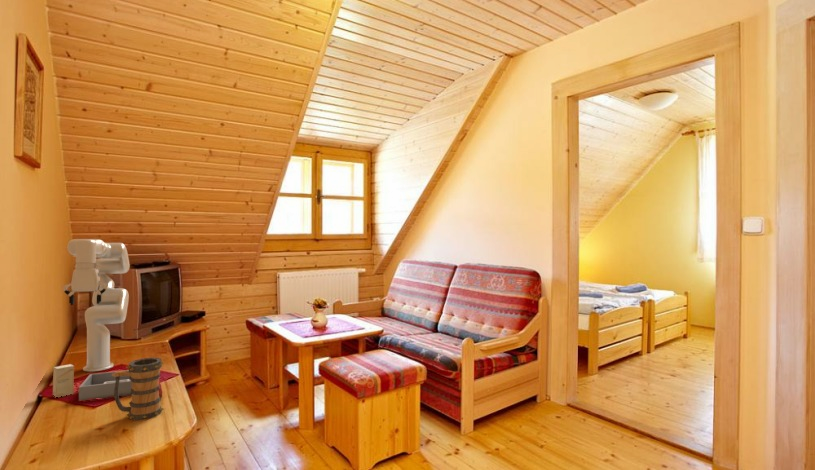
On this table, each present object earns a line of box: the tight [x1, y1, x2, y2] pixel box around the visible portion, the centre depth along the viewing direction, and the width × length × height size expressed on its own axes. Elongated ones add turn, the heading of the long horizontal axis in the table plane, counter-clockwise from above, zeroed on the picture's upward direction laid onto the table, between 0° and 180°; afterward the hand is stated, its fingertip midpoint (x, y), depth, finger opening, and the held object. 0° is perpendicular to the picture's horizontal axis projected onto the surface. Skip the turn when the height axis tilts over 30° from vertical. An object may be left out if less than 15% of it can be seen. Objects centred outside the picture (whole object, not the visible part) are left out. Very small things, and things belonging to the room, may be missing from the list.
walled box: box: [78, 369, 132, 402], centre depth 189 cm, size 18×22×6 cm
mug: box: [112, 357, 165, 421], centre depth 164 cm, size 13×17×20 cm
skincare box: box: [52, 363, 75, 398], centre depth 184 cm, size 6×4×12 cm
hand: (85, 304), depth 198 cm, fingers open, 9 cm apart
